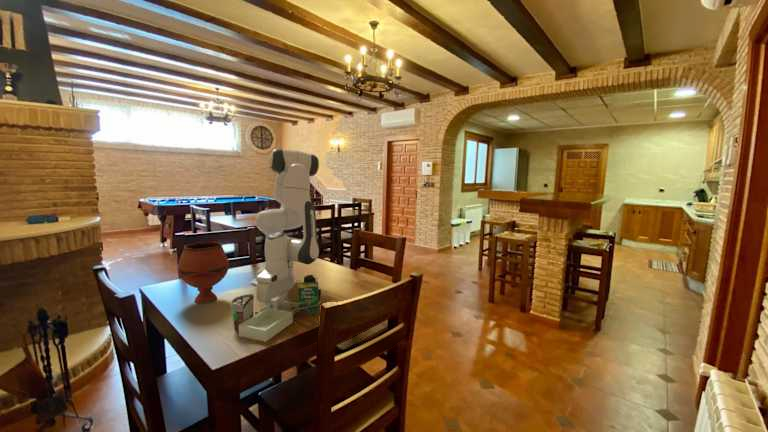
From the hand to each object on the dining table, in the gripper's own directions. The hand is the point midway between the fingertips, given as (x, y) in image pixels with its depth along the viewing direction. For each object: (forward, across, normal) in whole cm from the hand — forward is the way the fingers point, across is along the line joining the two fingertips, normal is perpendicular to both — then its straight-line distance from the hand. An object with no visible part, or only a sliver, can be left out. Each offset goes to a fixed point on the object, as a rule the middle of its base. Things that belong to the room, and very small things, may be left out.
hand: (277, 305), depth 129 cm
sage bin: (+2, +15, +6) cm, 16 cm away
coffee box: (+3, -2, +14) cm, 14 cm away
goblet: (+2, +2, -36) cm, 36 cm away
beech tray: (+2, 0, +2) cm, 3 cm away
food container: (+3, +16, -4) cm, 17 cm away
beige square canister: (+3, -13, +8) cm, 15 cm away
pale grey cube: (+2, 0, +5) cm, 5 cm away
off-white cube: (+2, 0, 0) cm, 2 cm away
